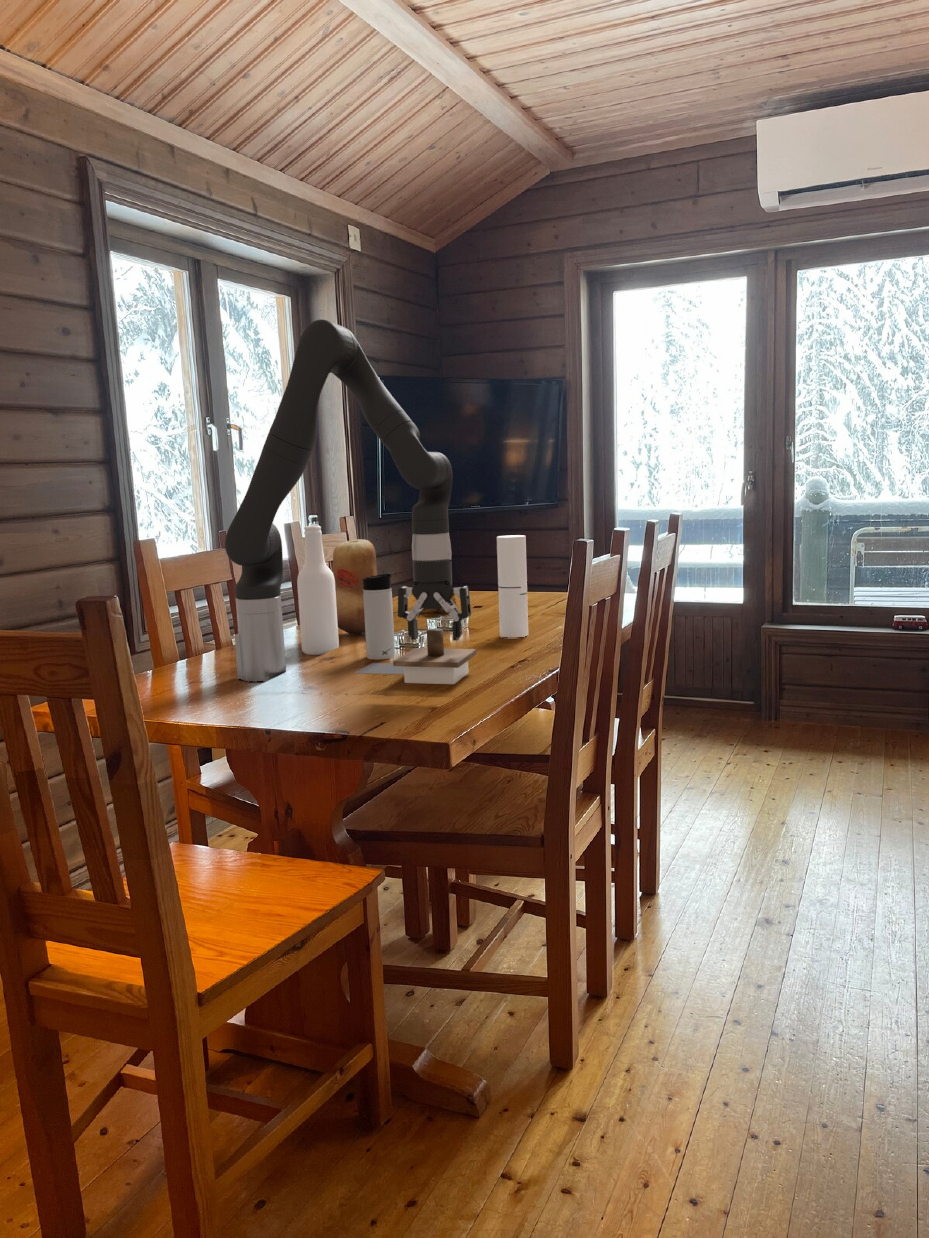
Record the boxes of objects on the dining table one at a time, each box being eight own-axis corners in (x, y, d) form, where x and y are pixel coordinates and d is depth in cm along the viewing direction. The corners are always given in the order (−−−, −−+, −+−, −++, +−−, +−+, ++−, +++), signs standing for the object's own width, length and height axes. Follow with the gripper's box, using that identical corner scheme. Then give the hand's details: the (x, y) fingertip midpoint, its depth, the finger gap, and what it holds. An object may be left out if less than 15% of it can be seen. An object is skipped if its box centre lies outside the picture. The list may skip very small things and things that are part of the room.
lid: (393, 666, 177) (391, 635, 176) (415, 652, 190) (414, 624, 189) (458, 667, 174) (457, 636, 173) (476, 654, 186) (475, 624, 185)
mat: (354, 680, 190) (354, 673, 189) (372, 669, 199) (372, 662, 199) (414, 681, 186) (414, 674, 186) (430, 671, 195) (429, 664, 195)
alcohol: (295, 652, 222) (286, 527, 217) (326, 646, 228) (318, 524, 223) (314, 656, 216) (306, 527, 211) (346, 651, 221) (338, 525, 217)
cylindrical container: (496, 634, 235) (492, 536, 231) (522, 632, 237) (519, 534, 233) (505, 639, 228) (502, 538, 224) (532, 636, 230) (529, 536, 226)
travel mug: (392, 666, 202) (387, 574, 199) (363, 665, 203) (358, 575, 200) (400, 660, 208) (395, 571, 205) (372, 660, 209) (367, 572, 206)
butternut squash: (323, 639, 239) (317, 542, 235) (349, 630, 251) (343, 537, 247) (370, 640, 234) (365, 541, 230) (395, 631, 246) (390, 537, 242)
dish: (405, 690, 179) (403, 664, 178) (421, 678, 189) (420, 654, 188) (454, 691, 176) (453, 665, 176) (468, 679, 186) (467, 655, 185)
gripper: (390, 559, 177) (394, 642, 179) (461, 558, 173) (465, 643, 175) (403, 555, 184) (407, 635, 187) (472, 554, 180) (475, 636, 183)
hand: (435, 639), depth 181 cm, fingers open, 8 cm apart
